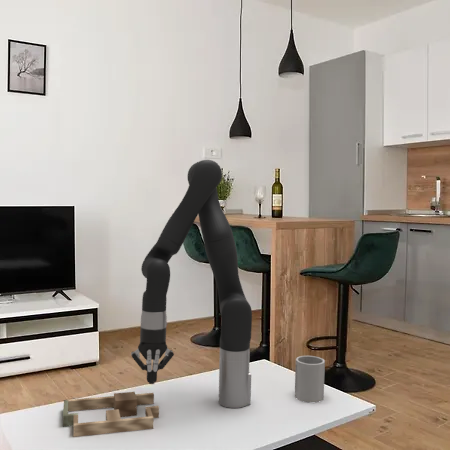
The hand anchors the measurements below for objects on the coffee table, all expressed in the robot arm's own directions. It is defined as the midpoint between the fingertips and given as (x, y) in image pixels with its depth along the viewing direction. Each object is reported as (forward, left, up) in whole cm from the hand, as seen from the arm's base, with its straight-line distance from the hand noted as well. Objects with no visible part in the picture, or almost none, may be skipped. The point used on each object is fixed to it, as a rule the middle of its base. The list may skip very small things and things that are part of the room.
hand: (151, 383), depth 155 cm
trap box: (+12, +4, -8) cm, 15 cm away
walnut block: (+8, 0, -8) cm, 11 cm away
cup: (-50, +1, -8) cm, 51 cm away
